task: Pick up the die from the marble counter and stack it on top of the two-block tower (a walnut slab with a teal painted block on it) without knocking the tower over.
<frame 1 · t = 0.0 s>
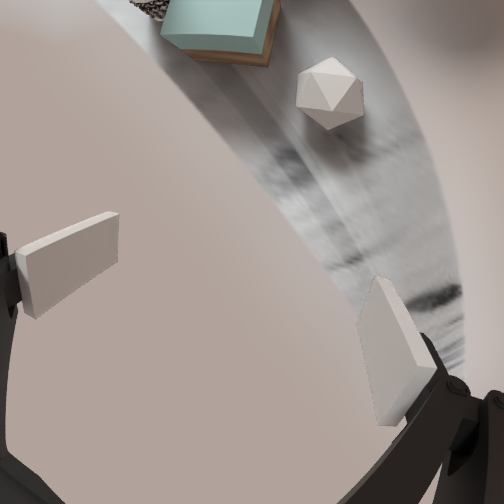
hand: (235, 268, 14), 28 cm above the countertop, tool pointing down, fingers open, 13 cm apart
die: (327, 98, 35), on the countertop
decorative candle: (172, 1, 33), on the countertop
tower base: (238, 32, 34), on the countertop, touching tower top
tower top: (227, 16, 28), point 6 cm above the countertop, touching tower base
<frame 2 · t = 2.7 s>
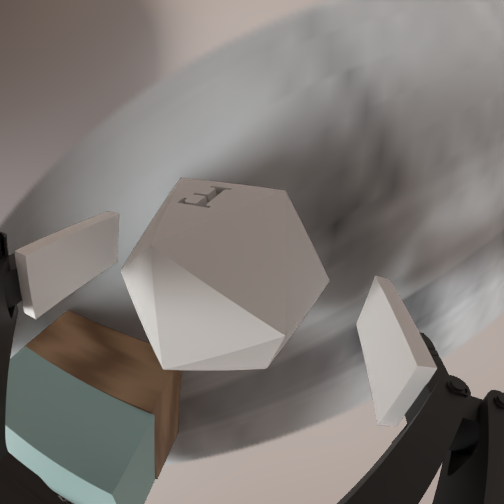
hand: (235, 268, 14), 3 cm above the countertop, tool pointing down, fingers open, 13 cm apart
die: (240, 248, 17), on the countertop
tower base: (124, 377, 22), on the countertop, touching tower top
tower top: (90, 424, 17), point 6 cm above the countertop, touching tower base
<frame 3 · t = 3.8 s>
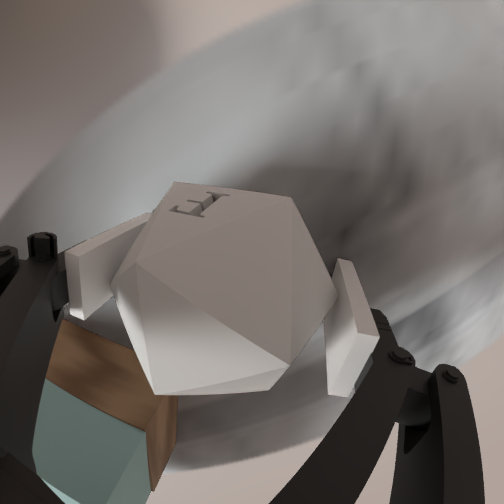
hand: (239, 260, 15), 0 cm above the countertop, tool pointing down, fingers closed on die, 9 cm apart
die: (241, 257, 16), on the countertop, touching gripper
tower base: (120, 387, 21), on the countertop
tower top: (83, 436, 16), point 6 cm above the countertop
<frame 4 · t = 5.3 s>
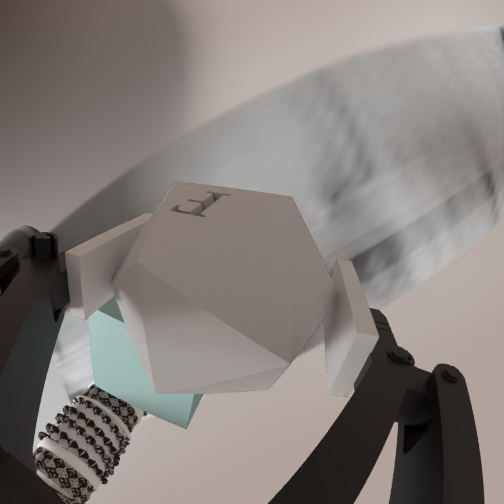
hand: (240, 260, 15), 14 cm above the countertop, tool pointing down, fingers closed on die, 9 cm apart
die: (241, 257, 16), point 14 cm above the countertop, touching gripper
decorative candle: (142, 365, 39), on the countertop
tower top: (165, 338, 29), point 6 cm above the countertop, touching tower base
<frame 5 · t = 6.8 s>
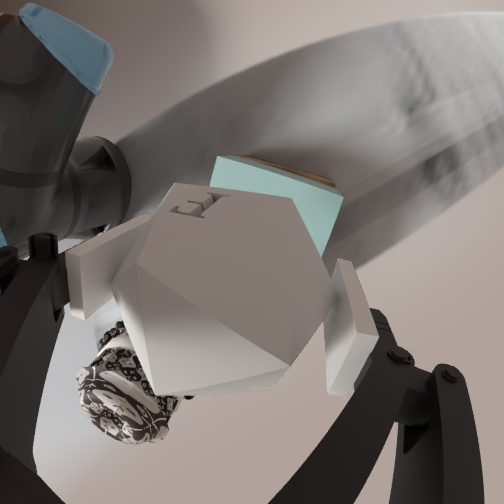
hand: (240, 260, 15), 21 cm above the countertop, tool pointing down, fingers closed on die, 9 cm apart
die: (241, 258, 16), point 21 cm above the countertop, touching gripper
decorative candle: (210, 282, 40), on the countertop
tower base: (276, 208, 36), on the countertop, touching tower top
tower top: (269, 220, 30), point 6 cm above the countertop, touching tower base
when the fingers open (13 cm above the countertop, at t = 8.9 s): die drops 2 cm, resting on tower top.
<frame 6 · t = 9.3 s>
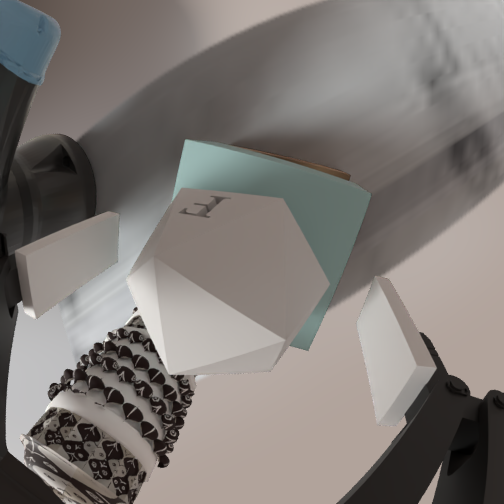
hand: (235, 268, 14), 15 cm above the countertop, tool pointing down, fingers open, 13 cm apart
die: (242, 254, 17), point 12 cm above the countertop, touching tower top
decorative candle: (194, 302, 33), on the countertop
tower base: (272, 210, 28), on the countertop, touching tower top
tower top: (264, 227, 23), point 6 cm above the countertop, touching die, tower base
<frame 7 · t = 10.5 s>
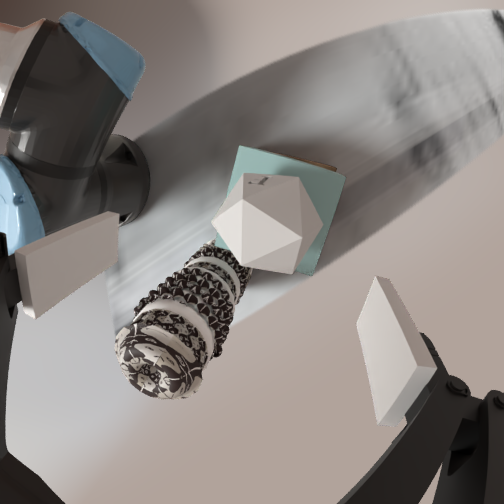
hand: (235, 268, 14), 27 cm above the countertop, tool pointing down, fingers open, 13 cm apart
die: (272, 213, 29), point 12 cm above the countertop, touching tower top
decorative candle: (225, 263, 45), on the countertop
tower top: (282, 202, 34), point 6 cm above the countertop, touching die, tower base
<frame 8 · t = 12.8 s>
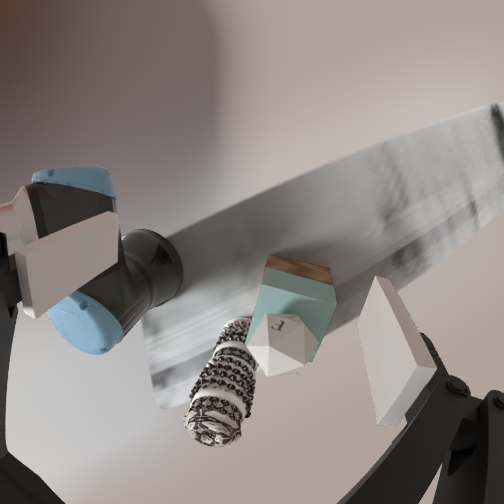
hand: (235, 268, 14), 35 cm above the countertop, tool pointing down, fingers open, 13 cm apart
die: (285, 328, 41), point 12 cm above the countertop, touching tower top
decorative candle: (244, 334, 57), on the countertop
tower base: (292, 288, 52), on the countertop, touching tower top
tower top: (291, 305, 46), point 6 cm above the countertop, touching die, tower base
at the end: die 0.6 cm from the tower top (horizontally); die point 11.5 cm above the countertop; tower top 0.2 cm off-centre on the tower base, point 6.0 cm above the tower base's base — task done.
